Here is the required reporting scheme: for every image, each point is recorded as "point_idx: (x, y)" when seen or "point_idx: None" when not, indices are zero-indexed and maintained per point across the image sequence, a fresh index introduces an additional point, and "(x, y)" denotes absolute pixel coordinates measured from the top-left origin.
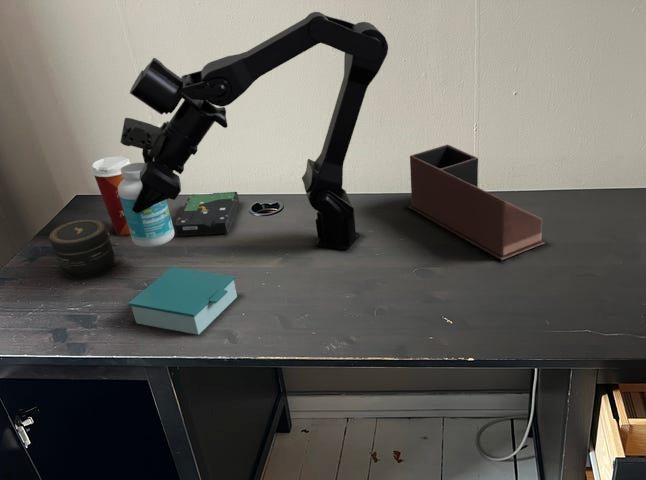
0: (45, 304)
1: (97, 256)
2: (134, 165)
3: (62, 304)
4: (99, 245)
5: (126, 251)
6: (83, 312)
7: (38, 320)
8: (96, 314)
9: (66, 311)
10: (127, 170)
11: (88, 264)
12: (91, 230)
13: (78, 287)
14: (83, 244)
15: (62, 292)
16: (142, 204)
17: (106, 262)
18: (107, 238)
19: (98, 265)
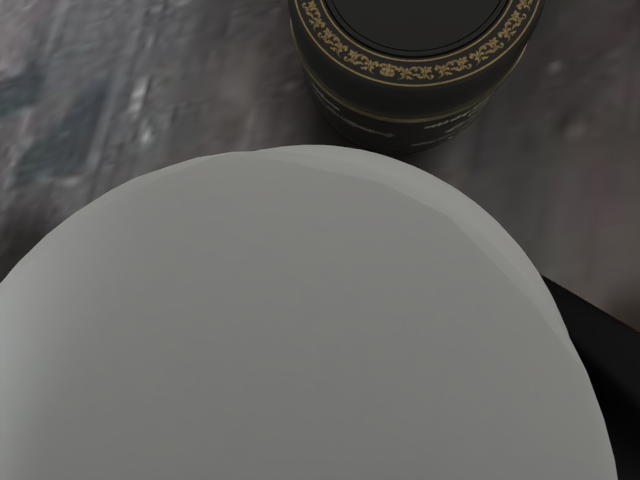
0: (186, 8)
1: (326, 102)
2: (413, 458)
3: (173, 56)
4: (341, 97)
5: (506, 177)
6: (110, 129)
7: (101, 16)
8: (87, 170)
9: (129, 78)
10: (95, 331)
11: (306, 80)
12: (403, 35)
13: (268, 75)
14: (297, 33)
15: (247, 36)
16: None
17: (349, 136)
18: (403, 116)
19: (323, 114)
